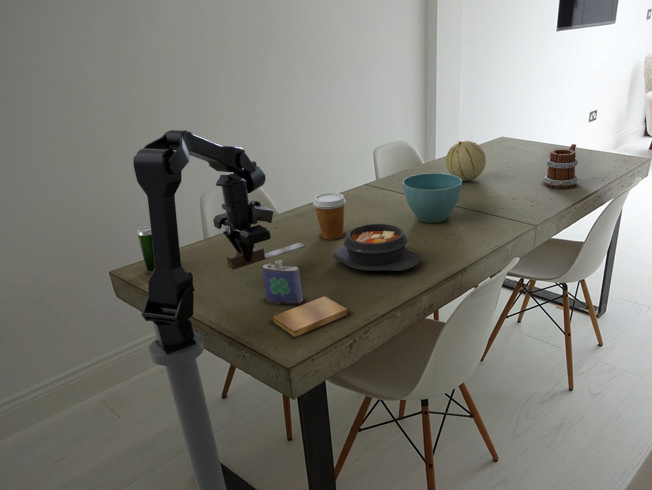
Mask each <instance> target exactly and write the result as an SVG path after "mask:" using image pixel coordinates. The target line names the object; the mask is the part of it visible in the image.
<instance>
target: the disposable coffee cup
mask: <svg viewBox="0 0 652 490" xmlns="http://www.w3.org/2000/svg"><path fill="white" fill-rule="evenodd" d="M346 203H347V200H346V198H345V196H344V195H343V194H342V193H338V192H325V193H320V194H317V195H316V196H314V199H313V201H312V205H313V206H314V209H315V212H316V216H317V221H318V225H319V229H320V232H321V237H322V239H324V240H337V239H341V238H343V236H344V225H345V224H344V223H345V205H346Z"/></svg>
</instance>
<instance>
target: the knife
mask: <svg viewBox="0 0 652 490" xmlns="http://www.w3.org/2000/svg"><path fill="white" fill-rule="evenodd" d="M305 247H306V244H303V243H302V242H297V243H294V244H291V245H287V246H284V247H281V248H278V249H275V250H272V251H269V252H266V253H265V249H264V247H261V246H259V245H258V246H254V248H253V254H252V259H251V261H249V262H247V261H246V259H245V257H244V256H243V254H242V252H239V253H238V252H235V253H233V254H229V255H226V259H227V265H228V268H229V269H231V270H232V271H235V270H238V269H240V268H243V267H246V266H250V265H252V264H256V263H258V262H261V261H265V260H269V259H272V258H275V257H278V256H281V255H284V254H287V253H290V252H293V251H296V250H299V249H303V248H305Z"/></svg>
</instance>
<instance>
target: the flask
mask: <svg viewBox="0 0 652 490" xmlns="http://www.w3.org/2000/svg"><path fill="white" fill-rule="evenodd" d="M283 262H284V260H282V259H279V260H275V261H274V263H275V264H273V263H271V262H269V263H267V264H264V265H262V267H261V270H262V277H263V284H264V291H265V297H266V302H267V303H271V304H277V305H288V306H289V305H291V306H296V305H302V303H303V301H304V299H303V292H302V284H301V278H300V277H301V276H300V270H299V267H298V266H287V265H285V266H284V265H283Z"/></svg>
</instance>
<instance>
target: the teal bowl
mask: <svg viewBox="0 0 652 490" xmlns="http://www.w3.org/2000/svg"><path fill="white" fill-rule="evenodd" d="M462 185H463V181H462V180H461V179H460V178H459V177H457V176H454V175H451V174H450V173H443V172H442V173H441V172H439V173H438V172H429V173H427V172H426V173H419V174H418V173H417V174H414V175H409V176H408V177H405V178H404V179H403V180H402V189H403V193H404V197H405V200H406V202H407V204H408V207H409V208H410V210H411V212H412V213H413V214H414V215H415V217H416V218H417V219H418V220H419V221H421V222H423V223H426V224H437V223H441V222H445V220H447V218H448V217H449V216H450V215H451V213H452V212H453V211H454V209H455V207H456V206H457V203H458V201H459V199H460V196H461V192H462Z"/></svg>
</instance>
